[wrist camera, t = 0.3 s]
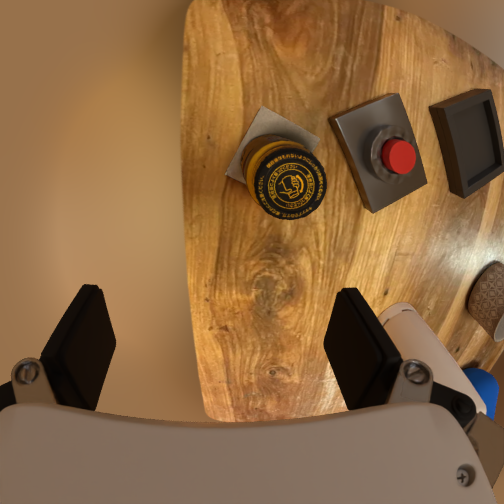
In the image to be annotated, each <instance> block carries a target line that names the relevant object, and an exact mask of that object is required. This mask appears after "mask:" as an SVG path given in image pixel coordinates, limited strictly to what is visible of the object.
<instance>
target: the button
mask: <svg viewBox="0 0 504 504" xmlns="http://www.w3.org/2000/svg"><path fill="white" fill-rule="evenodd" d="M381 158H382V162H383V164H384V165H385V167H386V168H388V169H389V170H391V171H394V172H396V173H399V174H406V173H408V172H409V171H411V170H412V168H413V167H414V164H415V161H416V154H415V150H414V148H413V147H412V145H411V144H410V143H408V142H406V141H402V140H398V139H391V140H389V141H387V142H386V143H385V145H384V146H383V148H382V152H381Z"/></svg>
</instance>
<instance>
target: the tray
mask: <svg viewBox="0 0 504 504" xmlns="http://www.w3.org/2000/svg"><path fill="white" fill-rule="evenodd" d="M429 109H430V112H431V115H432V118H433V122H434V125H435V128H436V132H437V135H438V139H439V142H440V146H441V150H442V154H443V158H444V163H445V167H446V172H447V176H448V181H449V187H450V192H451V193H453V194H455V195H458V196H459V197H461V198H464V199H465V198H466V197H468V196H469V195H471V194H472V193H474V192H475V191H477V190H478V189H480V188H481V187H483V186H484V185H485V184H487V183H488V182H490V181H491V180H493V179H494V178H495V177H497V176H498V175H500V174H501V173H502V172H504V147H503V141H502V135H501V130H500V125H499V120H498V116H497V111H496V107H495V103H494V99H493V95H492V92H491V89H474V90H471V91H468V92H466V93H463V94H460V95H458V96H455V97H453V98H450V99H447V100H445V101H442V102H440V103H437V104H435V105H432V106H430V107H429Z"/></svg>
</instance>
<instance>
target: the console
mask: <svg viewBox="0 0 504 504" xmlns="http://www.w3.org/2000/svg"><path fill="white" fill-rule="evenodd" d="M329 121H330V123H331V125H332V127H333V130H334V132H335V134H336V136H337V138H338V141H339V143H340V145H341V148H342V150H343V152H344V155H345V157H346V159H347V162H348V164H349V167H350V169H351V172H352V174H353V177H354V179H355V182H356V184H357V187H358V190H359V192H360V195H361V198H362V201H363V203H364V206H365V208H366V209H367V210H369V211H370V212H371V213H375V212H377V211H379V210H381V209H383V208H384V207H386V206H388V205H390V204H392V203H393V202H395V201H397V200H399V199H401V198H402V197H404V196H406V195H408V194H409V193H411V192H413V191H415V190H417V189H418V188H420V187H422V186H424V185H425V184H427V179H426V175H425V171H424V167H423V164H422V160H421V157H420V153H419V150H418V146H417V143H416V140H415V137H414V133H413V130H412V127H411V124H410V122H409V119H408V116H407V113H406V110H405V108H404V105H403V103H402V100H401V97H400V95H399V93H388V94H386V95H383V96H381V97H378V98H375V99H373V100H370V101H368V102H365V103H363V104H361V105H358V106H356V107H353V108H351V109H349V110H346V111H344V112H342V113H339V114H337V115H335V116H333V117H330V118H329ZM391 139H398V140H402V141H406V142H408V143H410V144H411V145H412V147H413V148H414V150H415V154H416V161H415V164H414V167H413V168H412V170H411V171H409V172H408V173H406V174H399V173H396V172H394V171H391V170H389V169H388V168H386V167H385V165H384V164H383V162H382V158H381V152H382V148H383V146H384V145H385V143H386V142H387V141H389V140H391Z"/></svg>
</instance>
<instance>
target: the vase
mask: <svg viewBox="0 0 504 504" xmlns="http://www.w3.org/2000/svg"><path fill="white" fill-rule="evenodd" d="M463 372H464V374H465V375H466V377H467V378H468V379H469V381H470V382H471V384H472V385H473V387H474V388H475V390H476V391H477V393H478V394H479V396H480V397H481V399H482V400H483V402H484V403H485V405H486V410H487V412H486V416H488V417H489V418H491V419H492V420H493V421H494V414H495V408H496V402H497V397H498V391H499V387H498V384H497V381H496V379H495V378H494V377H493V375H491V374H490V373H488V372H486V371H484V370H482V369H478V368H467V369H464V370H463Z"/></svg>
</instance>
